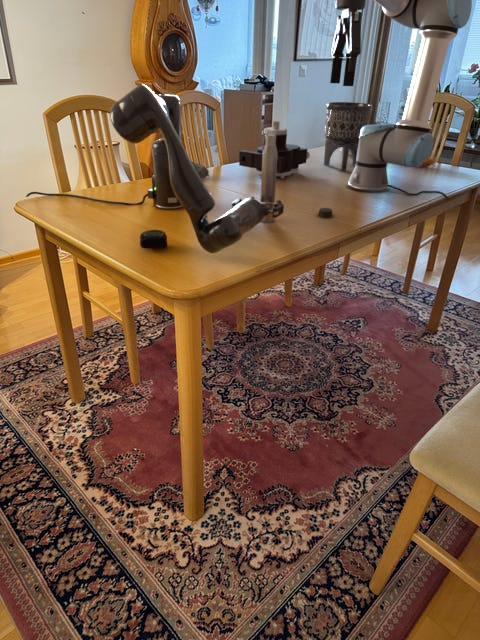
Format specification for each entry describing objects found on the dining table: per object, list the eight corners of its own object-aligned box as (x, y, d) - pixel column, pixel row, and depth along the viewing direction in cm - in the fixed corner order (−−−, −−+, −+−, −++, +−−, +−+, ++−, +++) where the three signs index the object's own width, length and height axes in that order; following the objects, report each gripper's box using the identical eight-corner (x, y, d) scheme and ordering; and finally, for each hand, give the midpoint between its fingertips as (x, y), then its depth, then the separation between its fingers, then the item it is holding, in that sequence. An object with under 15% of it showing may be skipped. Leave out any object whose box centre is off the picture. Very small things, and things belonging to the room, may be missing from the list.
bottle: (257, 220, 139) (260, 135, 127) (264, 217, 142) (268, 133, 130) (269, 223, 137) (273, 136, 125) (276, 219, 140) (281, 135, 128)
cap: (332, 218, 143) (333, 211, 142) (319, 218, 143) (320, 211, 142) (330, 214, 147) (331, 207, 146) (317, 214, 147) (318, 207, 145)
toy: (409, 160, 208) (403, 153, 221) (411, 174, 211) (405, 166, 224) (434, 152, 205) (427, 146, 218) (436, 166, 208) (429, 159, 221)
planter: (313, 167, 208) (319, 103, 195) (331, 160, 222) (338, 101, 209) (353, 173, 199) (362, 107, 185) (369, 166, 213) (379, 104, 199)
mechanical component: (240, 120, 182) (283, 115, 202) (239, 174, 192) (280, 164, 212) (283, 126, 170) (325, 120, 190) (280, 183, 180) (320, 171, 200)
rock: (201, 174, 190) (201, 158, 187) (214, 178, 185) (214, 162, 181) (174, 179, 183) (173, 162, 179) (187, 183, 177) (186, 166, 174)
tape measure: (140, 252, 115) (139, 238, 113) (141, 242, 120) (140, 229, 119) (167, 251, 116) (166, 237, 114) (167, 241, 121) (166, 228, 120)
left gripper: (271, 205, 118) (289, 191, 131) (221, 199, 123) (244, 185, 136) (269, 233, 122) (287, 216, 135) (221, 225, 127) (243, 210, 140)
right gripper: (325, -4, 126) (317, 82, 136) (351, -17, 104) (339, 87, 115) (352, -4, 126) (342, 82, 137) (383, -16, 105) (368, 87, 116)
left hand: (266, 201), depth 135 cm, fingers open, 8 cm apart
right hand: (341, 84), depth 126 cm, fingers open, 13 cm apart
